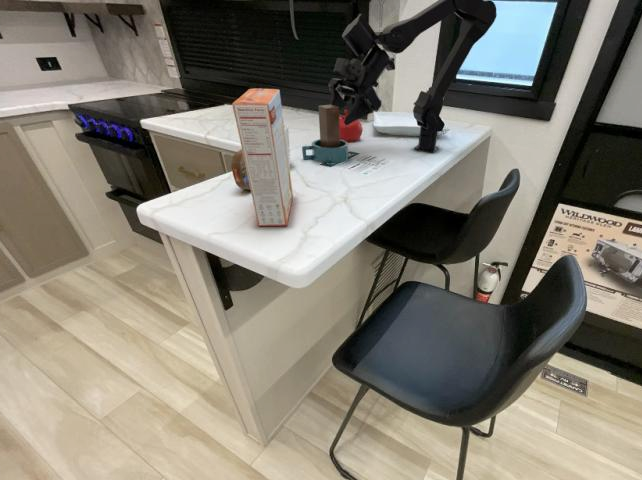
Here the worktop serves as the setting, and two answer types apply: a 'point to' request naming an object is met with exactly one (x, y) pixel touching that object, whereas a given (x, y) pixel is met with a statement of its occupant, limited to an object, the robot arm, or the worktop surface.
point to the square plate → (399, 124)
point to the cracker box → (265, 154)
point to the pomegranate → (349, 129)
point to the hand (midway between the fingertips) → (336, 120)
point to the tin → (240, 170)
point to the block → (329, 126)
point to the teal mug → (327, 152)
